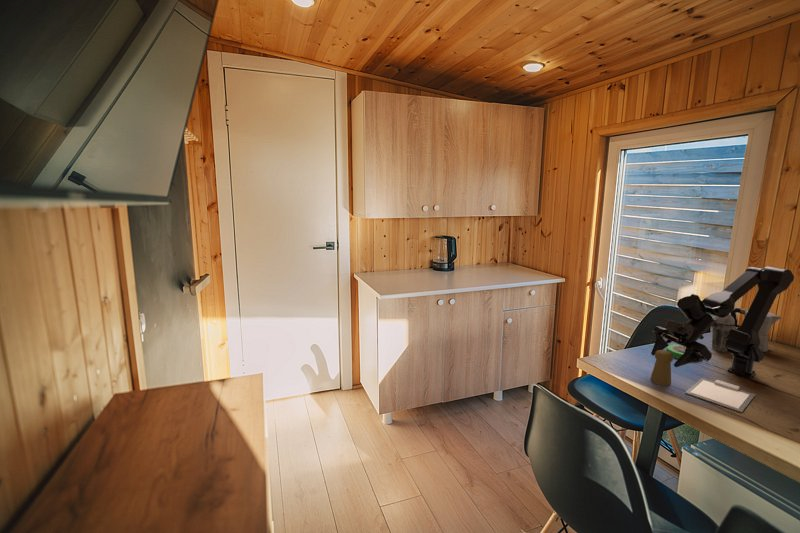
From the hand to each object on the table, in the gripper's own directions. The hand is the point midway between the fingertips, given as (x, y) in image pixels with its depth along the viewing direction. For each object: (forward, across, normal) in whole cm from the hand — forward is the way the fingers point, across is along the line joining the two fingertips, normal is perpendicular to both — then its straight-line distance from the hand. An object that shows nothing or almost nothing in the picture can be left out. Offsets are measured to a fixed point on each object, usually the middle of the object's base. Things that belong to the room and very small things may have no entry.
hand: (662, 360), depth 130 cm
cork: (+5, 0, +6) cm, 8 cm away
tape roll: (-13, -17, +24) cm, 32 cm away
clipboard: (-3, +11, +14) cm, 18 cm away
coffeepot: (-38, -18, +48) cm, 64 cm away
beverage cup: (-27, -19, +38) cm, 50 cm away
